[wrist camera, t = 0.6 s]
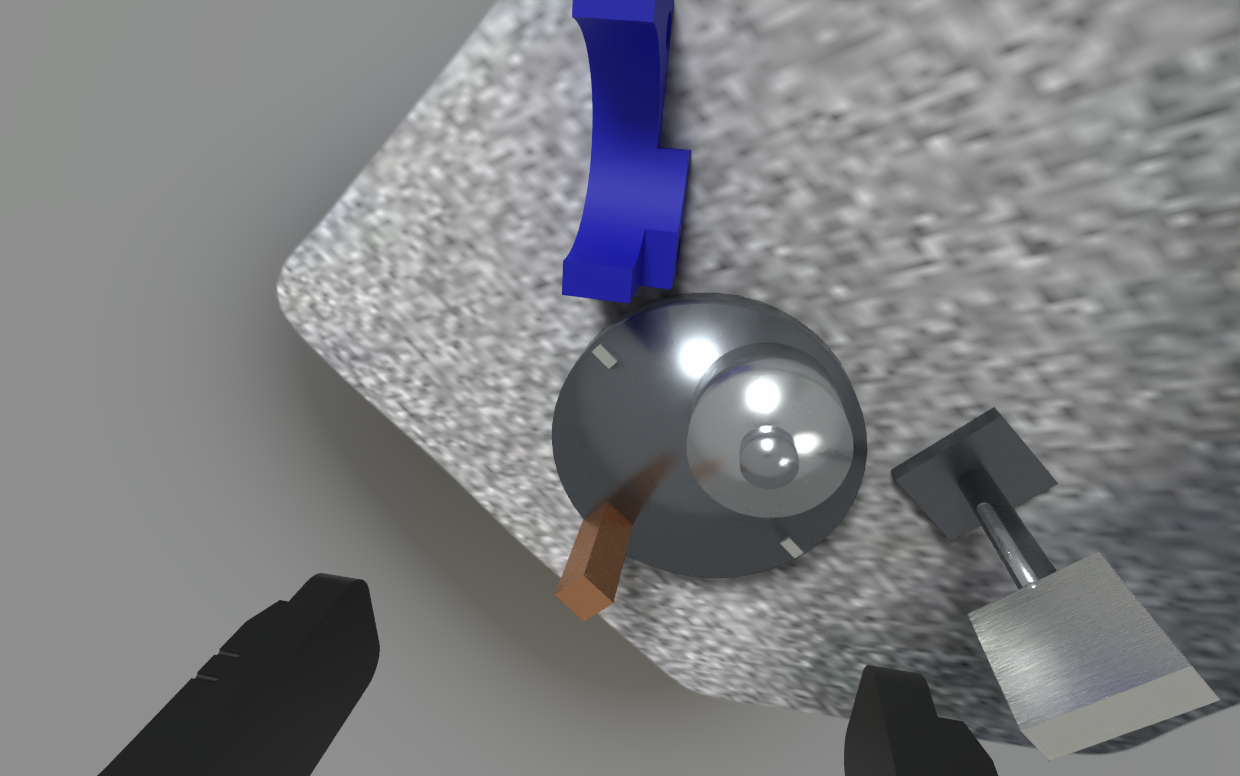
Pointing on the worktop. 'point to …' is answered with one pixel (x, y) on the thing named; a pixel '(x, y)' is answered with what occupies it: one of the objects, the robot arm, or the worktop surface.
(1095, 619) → the grey stand with block
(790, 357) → the cover
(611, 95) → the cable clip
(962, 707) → the worktop surface
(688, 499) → the grey pot lid
